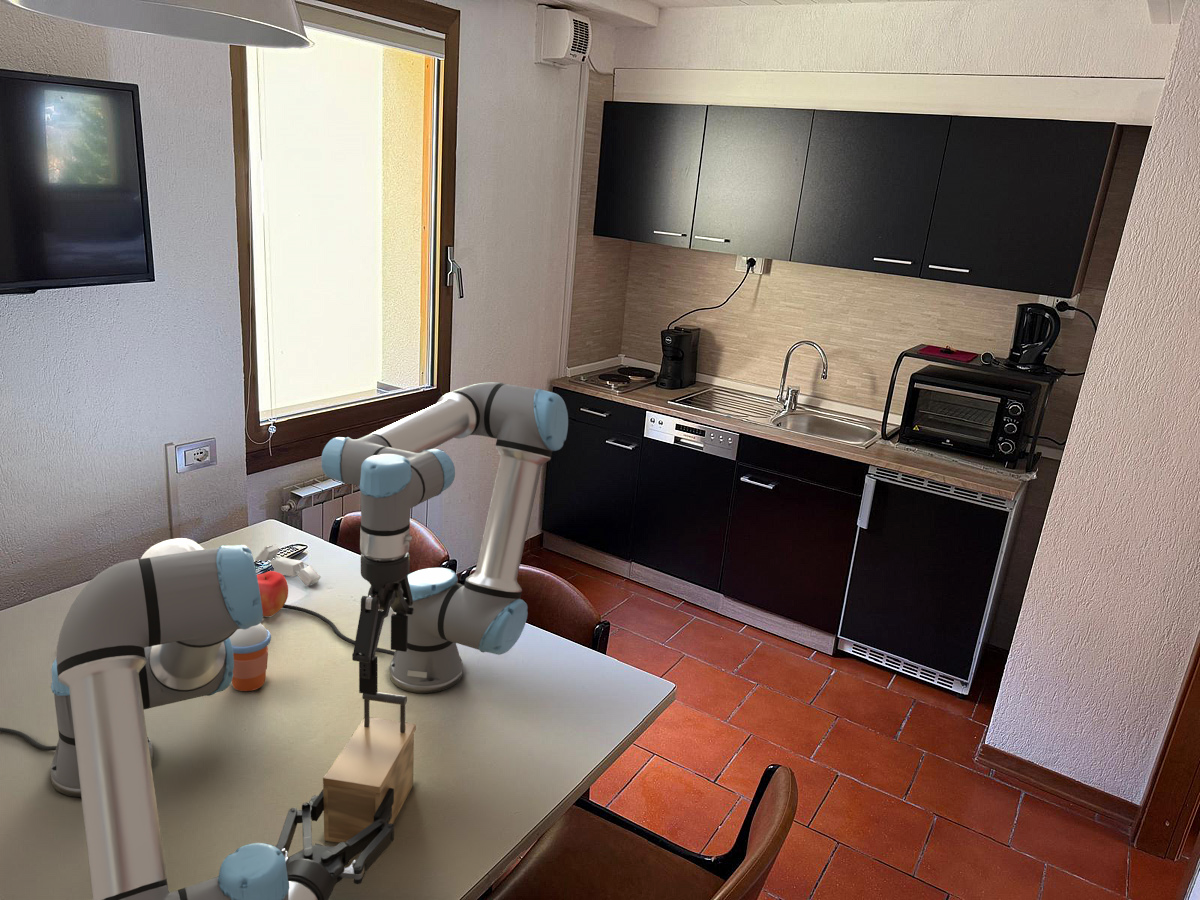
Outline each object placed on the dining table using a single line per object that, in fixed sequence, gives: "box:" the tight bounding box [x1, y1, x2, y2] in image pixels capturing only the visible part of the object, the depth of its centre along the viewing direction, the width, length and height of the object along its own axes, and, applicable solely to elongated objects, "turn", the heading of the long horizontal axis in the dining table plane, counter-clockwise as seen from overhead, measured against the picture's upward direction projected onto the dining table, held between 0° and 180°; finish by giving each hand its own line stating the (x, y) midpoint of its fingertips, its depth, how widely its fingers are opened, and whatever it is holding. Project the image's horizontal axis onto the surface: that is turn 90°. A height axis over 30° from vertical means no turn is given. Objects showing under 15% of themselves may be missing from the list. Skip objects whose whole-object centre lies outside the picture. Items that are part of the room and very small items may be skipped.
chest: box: [322, 733, 415, 844], centre depth 141 cm, size 16×9×10 cm, turn 173°
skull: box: [140, 537, 205, 559], centre depth 200 cm, size 13×22×16 cm, turn 73°
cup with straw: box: [230, 622, 272, 692], centre depth 171 cm, size 9×9×18 cm
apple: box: [257, 570, 289, 618], centre depth 199 cm, size 10×10×10 cm
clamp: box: [254, 544, 322, 587], centre depth 219 cm, size 20×4×7 cm, turn 62°
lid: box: [322, 691, 417, 793], centre depth 138 cm, size 17×9×8 cm, turn 173°
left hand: (361, 790), depth 137 cm, fingers closed on chest, 9 cm apart
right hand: (384, 670), depth 141 cm, fingers open, 13 cm apart
